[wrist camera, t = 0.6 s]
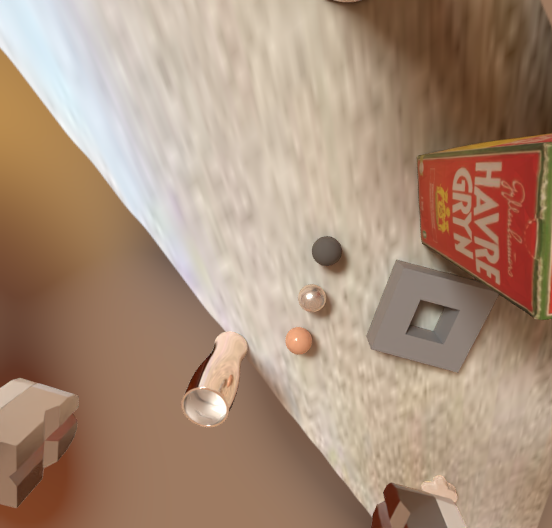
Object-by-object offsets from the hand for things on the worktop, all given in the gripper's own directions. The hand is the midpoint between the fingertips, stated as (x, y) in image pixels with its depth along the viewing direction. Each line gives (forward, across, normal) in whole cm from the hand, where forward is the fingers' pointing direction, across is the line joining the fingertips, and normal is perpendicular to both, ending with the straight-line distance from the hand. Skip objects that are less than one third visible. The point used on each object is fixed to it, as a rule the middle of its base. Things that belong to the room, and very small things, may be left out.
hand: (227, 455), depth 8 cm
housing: (+42, -24, +9) cm, 49 cm away
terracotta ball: (+42, -6, +19) cm, 46 cm away
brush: (+43, -42, +44) cm, 74 cm away
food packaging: (+41, -21, -9) cm, 47 cm away
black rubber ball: (+41, -6, +3) cm, 42 cm away
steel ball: (+42, -6, +11) cm, 43 cm away
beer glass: (+42, +5, +25) cm, 49 cm away
